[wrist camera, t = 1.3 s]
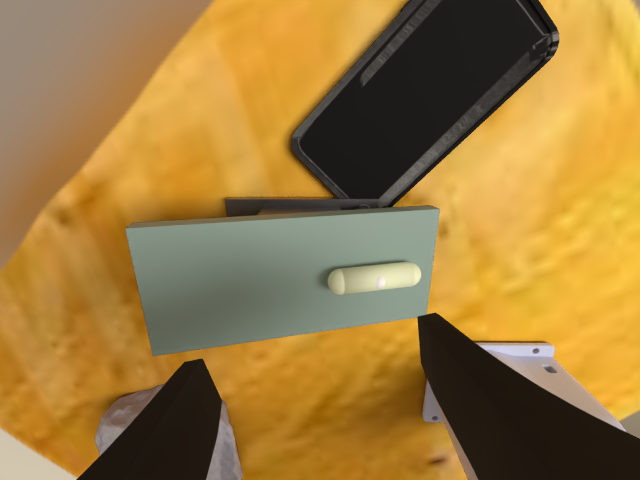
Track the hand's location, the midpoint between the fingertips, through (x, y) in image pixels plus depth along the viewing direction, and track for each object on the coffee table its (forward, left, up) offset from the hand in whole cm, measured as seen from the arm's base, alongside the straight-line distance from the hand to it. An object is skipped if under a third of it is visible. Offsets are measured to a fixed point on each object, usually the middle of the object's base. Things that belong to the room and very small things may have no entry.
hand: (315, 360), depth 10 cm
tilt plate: (+1, 0, -8) cm, 8 cm away
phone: (-6, -9, -13) cm, 17 cm away
